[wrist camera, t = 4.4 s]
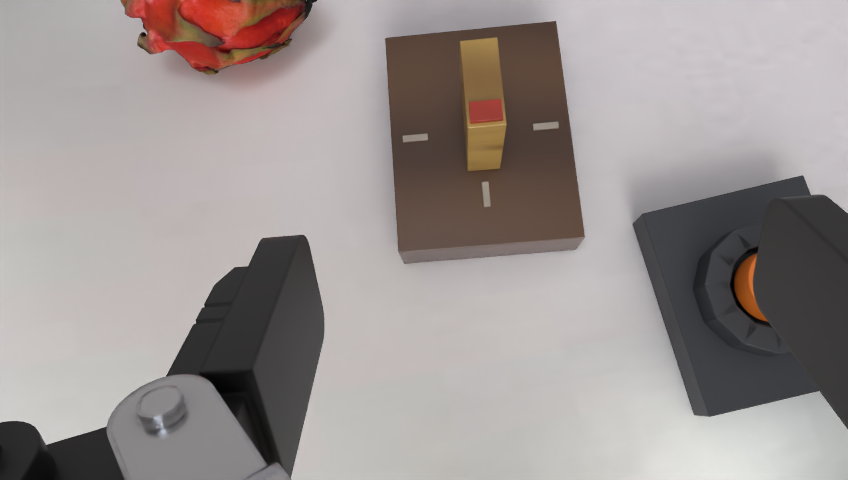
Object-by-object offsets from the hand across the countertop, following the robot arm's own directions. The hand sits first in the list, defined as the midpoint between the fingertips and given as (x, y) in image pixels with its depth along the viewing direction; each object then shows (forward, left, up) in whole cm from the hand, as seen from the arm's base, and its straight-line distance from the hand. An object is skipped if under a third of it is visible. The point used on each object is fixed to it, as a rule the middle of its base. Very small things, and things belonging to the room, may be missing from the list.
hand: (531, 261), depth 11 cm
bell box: (0, +14, -25) cm, 29 cm away
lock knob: (-12, +2, -22) cm, 25 cm away
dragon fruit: (-24, -11, -25) cm, 36 cm away
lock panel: (-12, +2, -25) cm, 28 cm away
